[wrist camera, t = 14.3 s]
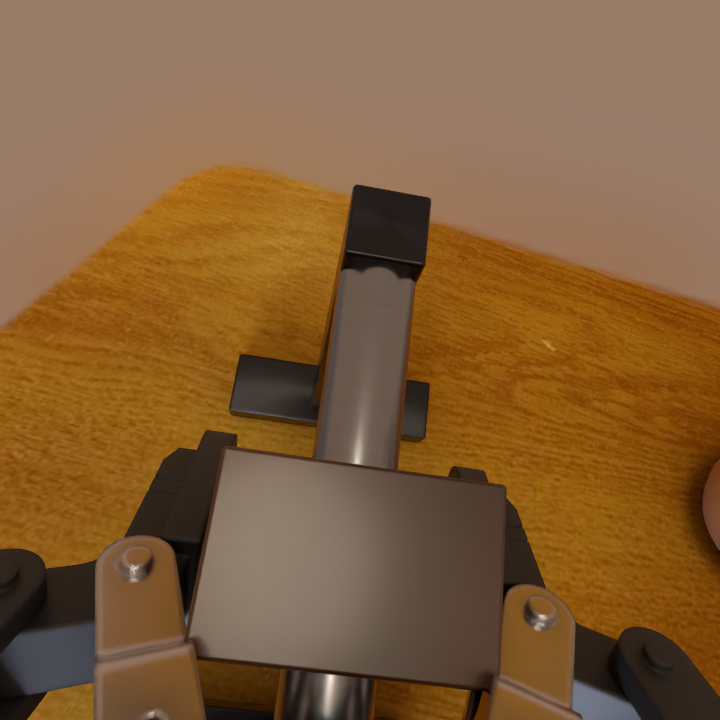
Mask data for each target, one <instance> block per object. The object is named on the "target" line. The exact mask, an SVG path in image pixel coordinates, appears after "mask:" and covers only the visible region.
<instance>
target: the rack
mask: <svg viewBox="0 0 720 720" xmlns="http://www.w3.org/2000/svg"><path fill="white" fill-rule="evenodd" d="M430 209H431V200H430V198H428V197H423V196H417V195H411V194H406V193H400V192H395V191H390V190H385V189H379V188H374V187H368V186H363V185H355V186H354V187H353V192H352V197H351V202H350V207H349V212H348V217H347V222H346V227H345V232H344V237H343V242H342V247H341V252H340V257H339V262H338V267H337V272H336V277H335V282H334V287H333V292H332V297H331V302H330V307H329V312H328V317H327V322H326V327H325V332H324V337H323V342H322V347H321V352H320V357H319V362H318V366H316V365H309V364H303V363H296V362H290V361H283V360H277V359H271V358H264V357H258V356H251V355H245V354H241V355H240V357H239V362H238V367H237V372H236V377H235V382H234V387H233V391H232V396H231V401H230V406H229V410H230V412H231V415H235V416H242V417H248V418H255V419H262V420H269V421H276V422H283V423H289V424H296V425H303V426H310V427H317V428H316V434H315V441H314V448H313V455H312V458H317V459H324V460H331V461H338V462H345V463H352V464H359V465H366V466H374V467H381V468H388V469H395V470H398V460H399V450H400V440H406V441H412V442H421V441H422V440H423V439H424V438H425V436H426V423H427V411H428V399H429V387H430V385H429V383H425V382H418V381H412V380H406V378H407V367H408V357H409V347H410V336H411V326H412V316H413V306H414V295H415V285H416V283H417V281H418V279H419V277H420V275H421V273H422V271H423V269H424V267H425V263H426V252H427V242H428V231H429V220H430ZM376 687H377V680H374V679H365V678H356V677H347V676H338V675H329V674H320V673H311V672H302V671H292V670H283V669H281V672H280V678H279V685H278V692H277V699H276V705H275V706H269V705H260V704H250V703H241V702H231V701H221V700H212V699H203V703H204V710H205V716H206V720H396V719H394V718H384V717H375V716H374V707H375V697H376Z"/></svg>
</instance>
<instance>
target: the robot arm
mask: <svg viewBox="0 0 720 720" xmlns="http://www.w3.org/2000/svg"><path fill="white" fill-rule="evenodd" d="M225 446H232V447H237V434H231V433H224V432H217V431H210V430H206V431H205V433H204V435H203V437H202V439H201V442H200V444H199V446H198V449H197V450H192V449H184V448H178V449H177V450H176V451H174V452H173V453H172V454H170V455H169V456H168V457H167V458H165V459H164V460H163V462H162V464H161V466H160V468H159V470H158V472H157V474H156V477H155V478H154V480H153V482H152V484H151V486H150V487H149V491H147V493H146V495H145V497H144V499H143V501H142V503H141V505H140V507H139V509H138V511H137V513H136V515H135V517H134V519H133V521H132V523H131V525H130V527H129V529H128V531H127V533H126V535H125V537H124V538H123V539H120V540H118V541H116V542H114V543H112V544H111V545H109V546H108V547H107V548H106V549H104V551H103V552H102V553H101V554H100V556H99V557H98V559H97V560H94V561H91V562H88V563H84V564H79V565H72V566H64V567H56V568H48V569H46V568H45V564H44V562H43V560H42V559H41V558H40V557H39V556H38V555H37V554H35V553H33V552H31V551H28V550H24V549H3V550H0V720H27V719H28V717H29V716H30V715H31V713H32V712H33V711H34V710H35V708H36V707H37V706H38V704H39V703H40V702H41V700H42V699H43V698H44V696H45V695H46V693H47V692H48V691H52V690H57V689H62V688H67V687H72V686H77V685H82V684H87V683H92V682H94V720H206V716H205V710H204V703H203V697H202V691H201V684H200V678H199V672H198V665H197V659H196V653H195V648H194V644H193V641H192V640H188V641H184V636H185V631H186V626H187V621H188V616H189V611H190V606H191V601H192V596H193V591H194V586H195V581H196V576H197V571H198V566H199V561H200V556H201V551H202V547H203V542H204V537H205V532H206V527H207V522H208V517H209V512H210V507H211V502H212V497H213V492H214V487H215V482H216V477H217V472H218V467H219V462H220V457H221V452H222V449H223V448H224V447H225ZM448 477H451V478H458V479H465V480H472V481H479V482H487V483H488V480H487V477H486V474H485V472H484V471H483V470H478V469H471V468H464V467H457V466H453V467H452V468H451V470H450V473H449V476H448ZM462 720H720V697H719V696H718V695H717V693H716V692H715V691H714V690H713V688H712V687H711V686H710V684H709V683H708V682H707V681H706V679H705V678H704V677H703V675H702V674H701V673H700V672H699V670H698V669H697V668H696V667H695V665H694V664H693V663H692V661H691V660H690V659H689V658H688V656H687V655H686V654H685V653H684V652H683V650H682V649H681V648H680V647H678V646H677V645H676V644H675V643H674V642H673V641H671V640H670V639H668V638H667V637H665V636H664V635H662V634H660V633H658V632H656V631H653V630H651V629H648V628H643V627H630V628H627V629H625V630H624V631H623V632H622V633H621V635H620V637H619V639H618V640H616V639H613V638H611V637H608V636H606V635H603V634H601V633H598V632H595V631H593V630H590V629H588V628H586V627H583V626H581V625H579V624H578V623H576V622H575V619H574V616H573V614H572V612H571V611H570V609H569V608H568V606H567V605H566V604H565V603H564V602H563V601H562V600H561V599H560V598H559V597H558V596H556V595H555V594H554V593H552V592H550V591H549V590H547V589H546V587H545V584H544V582H543V579H542V576H541V574H540V571H539V568H538V566H537V563H536V560H535V558H534V555H533V552H532V550H531V547H530V544H529V542H527V536H526V534H525V531H524V529H522V523H521V520H520V518H519V515H518V512H517V510H516V508H515V507H514V506H513V505H512V504H511V503H510V502H509V500H508V499H507V498H506V520H505V550H504V579H503V609H502V639H501V669H500V677H499V676H497V675H495V674H493V675H492V676H491V679H490V683H489V686H488V689H487V691H486V692H484V691H475V690H469V691H468V695H467V700H466V704H465V709H464V713H463V717H462Z"/></svg>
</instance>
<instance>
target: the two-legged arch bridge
mask: <svg viewBox="0 0 720 720" xmlns="http://www.w3.org/2000/svg"><path fill="white" fill-rule="evenodd" d="M505 520H506V487H505V486H504V485H501V484H494V483H487V482H479V481H472V480H465V479H458V478H451V477H444V476H437V475H430V474H423V473H416V472H409V471H402V470H395V469H388V468H381V467H374V466H366V465H359V464H352V463H345V462H338V461H331V460H324V459H317V458H310V457H303V456H296V455H289V454H282V453H275V452H268V451H261V450H254V449H246V448H239V447H232V446H225V447H224V448H223V449H222V452H221V457H220V462H219V467H218V472H217V477H216V482H215V487H214V492H213V497H212V502H211V507H210V512H209V517H208V522H207V527H206V532H205V537H204V542H203V547H202V551H201V556H200V561H199V566H198V571H197V576H196V581H195V586H194V591H193V596H192V601H191V606H190V611H189V616H188V621H187V626H186V631H185V636H184V641H188V640H192V641H193V644H194V648H195V653H196V659H197V660H201V661H210V662H220V663H229V664H238V665H247V666H256V667H265V668H274V669H283V670H292V671H302V672H311V673H320V674H329V675H338V676H347V677H356V678H365V679H374V680H383V681H393V682H402V683H411V684H420V685H429V686H438V687H447V688H456V689H465V690H475V691H484V692H486V691H487V689H488V686H489V683H490V679H491V676H492V675H493V674H495V675H497V676H499V677H500V669H501V639H502V609H503V579H504V550H505Z"/></svg>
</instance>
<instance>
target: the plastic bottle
mask: <svg viewBox="0 0 720 720" xmlns="http://www.w3.org/2000/svg"><path fill="white" fill-rule="evenodd" d="M703 514H704V520H705V524H706V526H707V529H708V532H709V534H710V536H711V538H712V540H713V541H714V543H715V545H716V547H717V548H718V549H719V550H720V458H719V460H718V461H717V462H716V464H715V465H714V466H713V468H712V470H711V472H710V474H709V477H708V479H707V481H706V484H705V488H704V493H703Z"/></svg>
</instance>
